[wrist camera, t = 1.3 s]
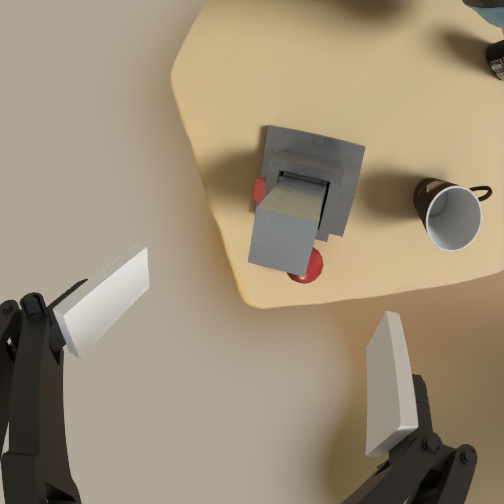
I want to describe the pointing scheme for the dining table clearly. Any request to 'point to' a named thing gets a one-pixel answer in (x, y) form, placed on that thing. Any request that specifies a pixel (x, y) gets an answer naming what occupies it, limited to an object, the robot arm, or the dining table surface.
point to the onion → (310, 268)
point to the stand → (313, 171)
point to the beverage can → (496, 58)
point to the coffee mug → (449, 212)
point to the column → (287, 224)
